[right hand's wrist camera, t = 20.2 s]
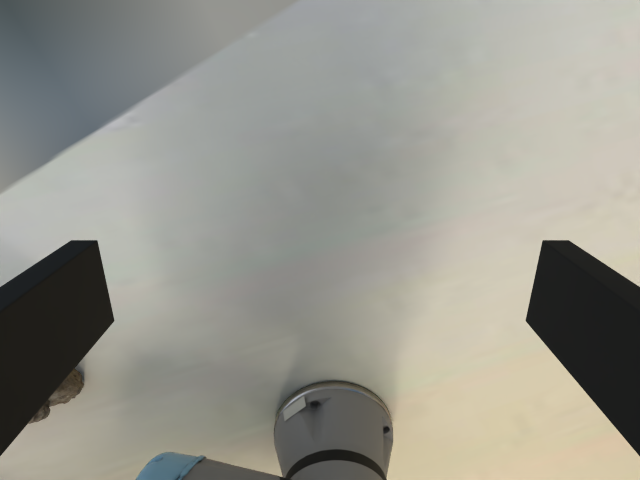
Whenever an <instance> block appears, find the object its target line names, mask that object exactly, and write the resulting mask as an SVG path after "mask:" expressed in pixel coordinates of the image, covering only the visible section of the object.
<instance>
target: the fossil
mask: <svg viewBox="0 0 640 480" xmlns="http://www.w3.org/2000/svg"><path fill="white" fill-rule="evenodd" d="M83 386H84V383H83V382H82V375H81V374H80V373H79V372H78V371H77V370H75V369H73V370H72V372H71V373H70V374H69V375H68V376H67V378H66V379H65V380H64V381H63V382H62V383H61V385H60V386H59V387H58V388H57V389H56V391H55V392H54V393H53V394H52V395H51V397H50V398H49V399H48V400H47V401H46V402H45V404H44V405H43V406H42V407H41V408H40V410H39V411H38V412H37V413H36V414H35V415H34V417H33V418H32V419H31V420H30V421H29V423H33V422H38V421H40V420H42V419H45V418H46V417H48V415H49V412H50V408H49V407H50V406H54V405H57V404H59V403H67V402H69V401H70V399H71V398H75V397H76V395H78V394H79V393H80V391H81V390H82V388H83Z"/></svg>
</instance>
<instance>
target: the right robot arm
mask: <svg viewBox="0 0 640 480" xmlns="http://www.w3.org/2000/svg"><path fill="white" fill-rule="evenodd" d="M113 322H114V317H113V312H112V308H111V303H110V298H109V293H108V289H107V284H106V279H105V275H104V270H103V265H102V260H101V256H100V251H99V246H98V242H97V240H71V241H70V242H68V243H67V244H65V245H64V246H62V247H61V248H59V249H58V250H56V251H55V252H53V253H51V254H50V255H48V256H47V257H45V258H44V259H42V260H41V261H39V262H38V263H36V264H35V265H33V266H32V267H30V268H29V269H27V270H26V271H24V272H23V273H21V274H20V275H18V276H16V277H15V278H13V279H12V280H10V281H9V282H7V283H6V284H4V285H3V286H1V287H0V456H1V455H2V453H3V452H4V451H5V450H6V449H7V447H8V446H9V445H10V444H11V443H12V442H13V440H14V439H15V438H16V437H17V436H18V434H19V433H20V432H21V431H22V430H23V429H24V427H25V426H26V425H27V424H28V423H29V421H30V420H31V419H32V418H33V417H34V415H35V414H36V413H37V412H38V411H39V410H40V408H41V407H42V406H43V405H44V404H45V402H46V401H47V400H48V399H49V398H50V397H51V395H52V394H53V393H54V392H55V391H56V389H57V388H58V387H59V386H60V385H61V383H62V382H63V381H64V380H65V379H66V378H67V376H68V375H69V374H70V373H71V372H72V370H73V369H74V368H75V367H76V366H77V364H78V363H79V362H80V361H81V360H82V359H83V357H84V356H85V355H86V354H87V353H88V351H89V350H90V349H91V348H92V347H93V346H94V344H95V343H96V342H97V341H98V340H99V338H100V337H101V336H102V335H103V334H104V332H105V331H106V330H107V329H108V328H109V327H110V325H111V324H112V323H113ZM526 322H527V323H528V324H529V325H530V327H531V328H532V329H533V330H534V331H535V332H536V334H537V335H538V336H539V337H540V338H541V340H542V341H543V342H544V343H545V344H546V346H547V347H548V348H549V349H550V350H551V351H552V353H553V354H554V355H555V356H556V357H557V359H558V360H559V361H560V362H561V363H562V364H563V366H564V367H565V368H566V369H567V370H568V372H569V373H570V374H571V375H572V376H573V378H574V379H575V380H576V381H577V382H578V383H579V385H580V386H581V387H582V388H583V389H584V391H585V392H586V393H587V394H588V395H589V397H590V398H591V399H592V400H593V401H594V402H595V404H596V405H597V406H598V407H599V408H600V410H601V411H602V412H603V413H604V414H605V415H606V417H607V418H608V419H609V420H610V421H611V423H612V424H613V425H614V426H615V427H616V429H617V430H618V431H619V432H620V433H621V434H622V436H623V437H624V438H625V439H626V440H627V442H628V443H629V444H630V445H631V446H632V447H633V449H634V450H635V451H636V452H637V453H638V455H639V456H640V287H639V286H637V285H636V284H634V283H633V282H631V281H630V280H628V279H627V278H625V277H624V276H622V275H620V274H619V273H617V272H616V271H614V270H613V269H611V268H610V267H608V266H607V265H605V264H604V263H602V262H601V261H599V260H598V259H596V258H595V257H593V256H592V255H590V254H589V253H587V252H585V251H584V250H582V249H581V248H579V247H578V246H576V245H575V244H573V243H572V242H570V241H569V240H543V242H542V246H541V251H540V256H539V260H538V265H537V270H536V275H535V279H534V284H533V289H532V293H531V298H530V303H529V308H528V312H527V317H526ZM274 443H275V449H276V452H277V456H278V460H279V464H280V468H281V472H282V475H283V477H279V476H276V475H272V474H268V473H264V472H259V471H255V470H251V469H247V468H242V467H238V466H234V465H230V464H226V463H222V462H218V461H214V460H210V459H206V457H205V456H198V457H196V456H190V455H184V454H178V453H173V452H166V453H162V454H160V455H157V456H156V457H154V458H153V459H152V460H151V461H150V462H149V463H148V464H147V465H146V466H145V467H144V468H143V470H142V471H141V472H140V474H139V475H138V477H137V478H136V480H387V479H386V477H387V472H388V466H389V461H390V456H391V450H392V445H393V428H392V423H391V418H390V414H389V412H388V410H387V408H386V406H385V404H384V403H383V402H382V401H381V400H380V399H379V398H378V397H377V396H376V395H375V394H374V393H372V392H371V391H369V390H367V389H365V388H363V387H361V386H358V385H355V384H351V383H346V382H337V381H330V382H321V383H316V384H312V385H310V386H307V387H304V388H302V389H300V390H299V391H297V392H295V393H294V394H292V395H291V396H290V397H289V398H288V399H287V400H286V401H285V402H284V403H283V404H282V406H281V408H280V409H279V411H278V413H277V416H276V420H275V427H274Z"/></svg>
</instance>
